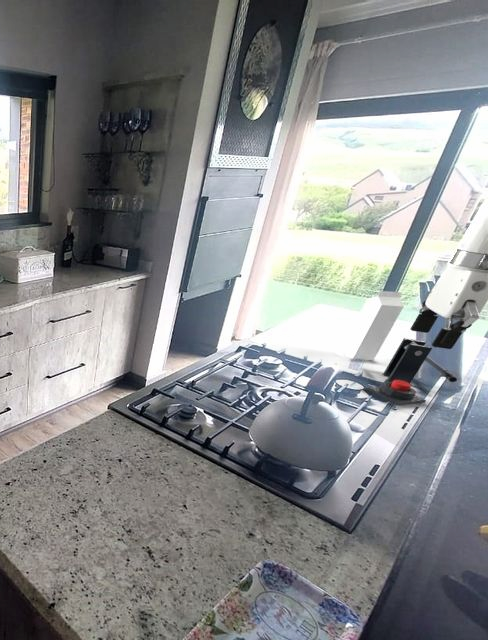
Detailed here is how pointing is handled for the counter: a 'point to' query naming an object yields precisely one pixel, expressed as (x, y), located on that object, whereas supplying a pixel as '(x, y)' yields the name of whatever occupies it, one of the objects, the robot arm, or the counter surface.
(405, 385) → the button
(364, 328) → the milk
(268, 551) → the counter surface
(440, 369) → the lever
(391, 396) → the button box
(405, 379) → the bracket
